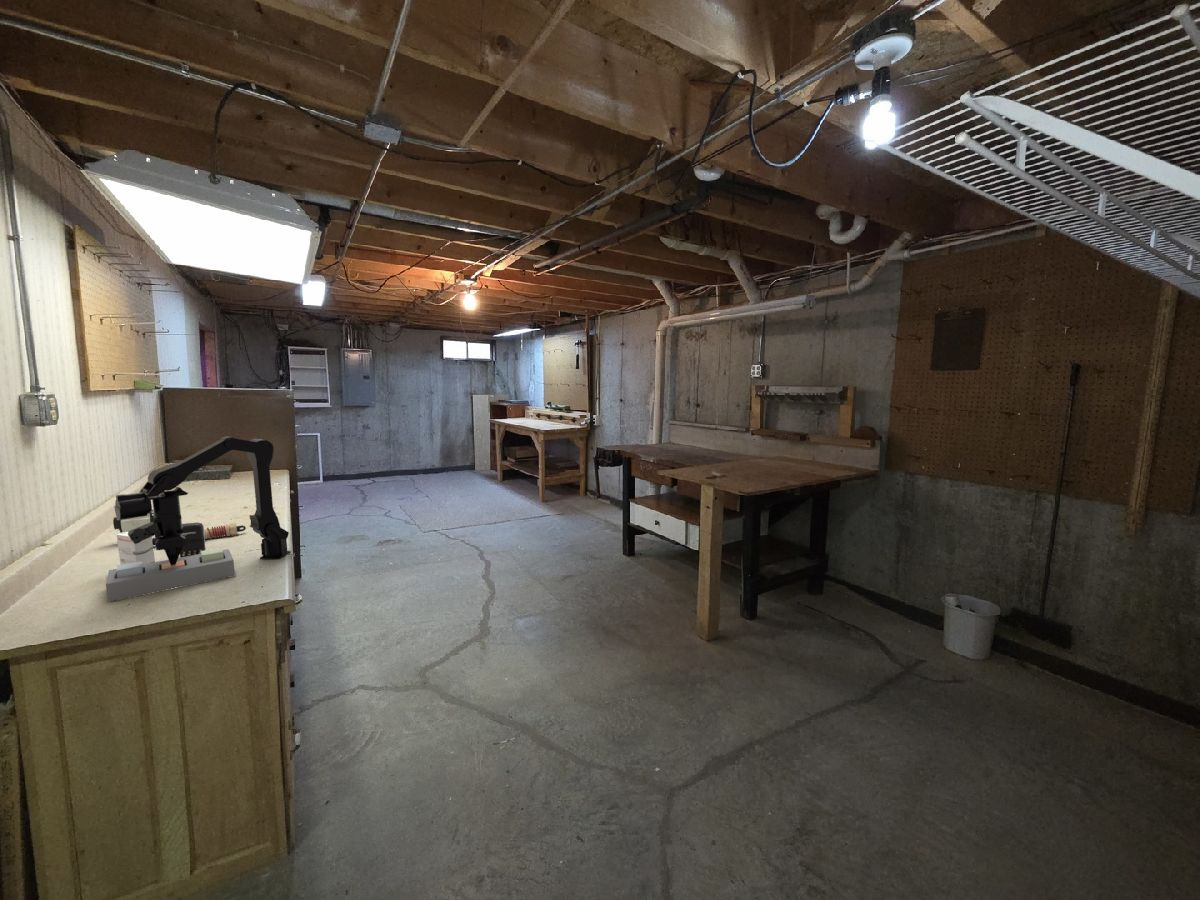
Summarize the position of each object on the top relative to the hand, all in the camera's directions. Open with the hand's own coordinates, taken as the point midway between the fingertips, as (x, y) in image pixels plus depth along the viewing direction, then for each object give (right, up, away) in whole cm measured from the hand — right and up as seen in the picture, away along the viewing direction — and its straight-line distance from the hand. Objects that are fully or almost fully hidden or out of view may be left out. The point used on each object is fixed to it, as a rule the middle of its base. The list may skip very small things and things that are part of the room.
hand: (173, 564), depth 141 cm
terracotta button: (0, -4, 0) cm, 4 cm away
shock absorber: (-24, -1, +37) cm, 44 cm away
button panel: (0, -5, +1) cm, 5 cm away
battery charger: (-12, -3, +21) cm, 24 cm away
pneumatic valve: (-44, 0, +35) cm, 56 cm away
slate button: (-7, -3, -6) cm, 9 cm away
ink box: (-18, -4, +9) cm, 21 cm away
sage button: (+7, -1, +6) cm, 9 cm away
